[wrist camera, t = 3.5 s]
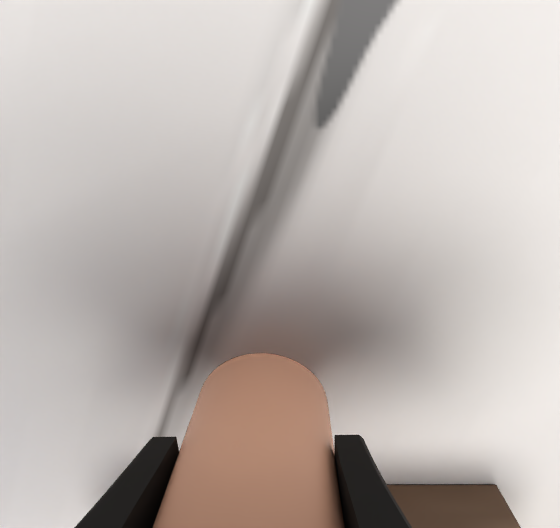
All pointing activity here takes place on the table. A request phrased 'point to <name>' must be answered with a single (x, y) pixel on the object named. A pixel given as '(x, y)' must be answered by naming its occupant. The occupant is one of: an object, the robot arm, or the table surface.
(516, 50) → the table surface
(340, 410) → the table surface
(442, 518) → the socket block
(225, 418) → the peg
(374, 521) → the robot arm
